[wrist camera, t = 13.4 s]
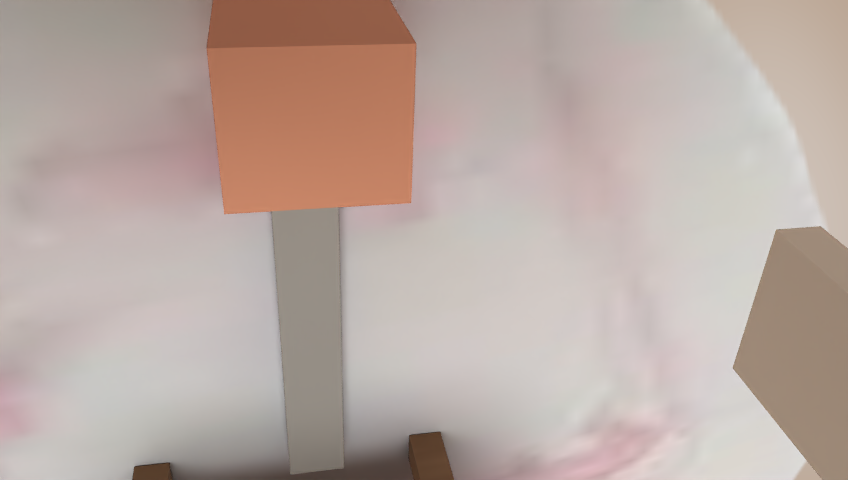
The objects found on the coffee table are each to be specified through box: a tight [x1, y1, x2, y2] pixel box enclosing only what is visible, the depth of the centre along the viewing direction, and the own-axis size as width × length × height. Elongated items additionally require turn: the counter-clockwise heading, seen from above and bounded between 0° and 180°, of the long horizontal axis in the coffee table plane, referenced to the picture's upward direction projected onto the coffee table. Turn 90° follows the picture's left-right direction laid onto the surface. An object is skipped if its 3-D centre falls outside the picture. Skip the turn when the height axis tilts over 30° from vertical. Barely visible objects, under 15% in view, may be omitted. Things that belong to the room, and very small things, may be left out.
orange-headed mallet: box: [207, 0, 416, 475], centre depth 27 cm, size 22×4×10 cm, turn 178°
